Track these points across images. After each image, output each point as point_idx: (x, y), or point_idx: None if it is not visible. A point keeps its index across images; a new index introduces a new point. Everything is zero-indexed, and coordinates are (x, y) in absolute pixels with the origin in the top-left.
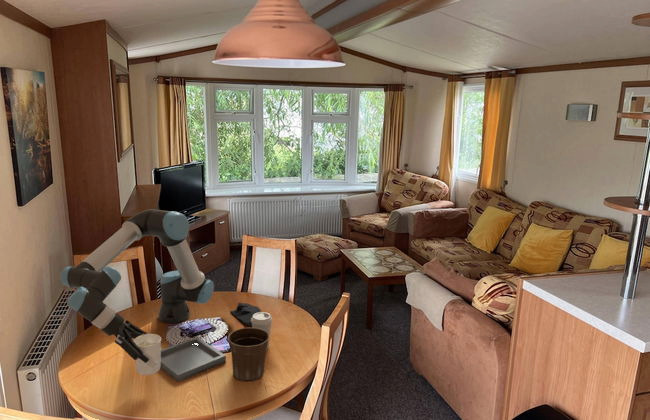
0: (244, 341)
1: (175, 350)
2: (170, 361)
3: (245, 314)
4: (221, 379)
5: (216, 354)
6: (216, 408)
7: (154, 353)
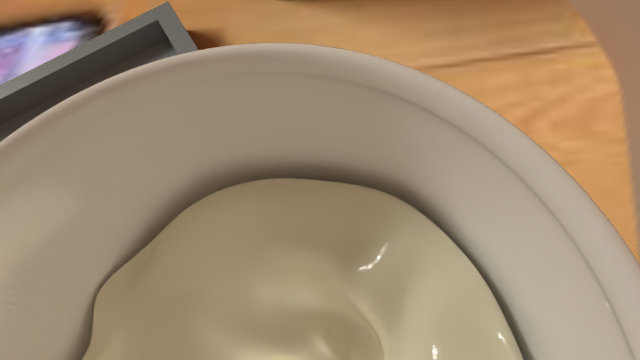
0: None
1: None
2: None
3: None
4: (323, 35)
5: (128, 45)
6: (564, 37)
7: (468, 240)
